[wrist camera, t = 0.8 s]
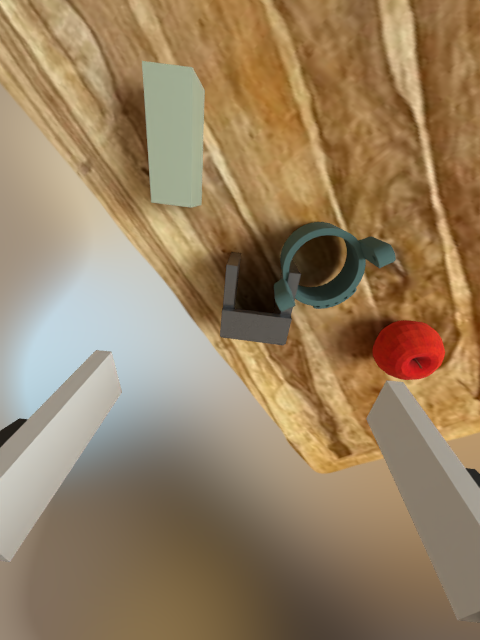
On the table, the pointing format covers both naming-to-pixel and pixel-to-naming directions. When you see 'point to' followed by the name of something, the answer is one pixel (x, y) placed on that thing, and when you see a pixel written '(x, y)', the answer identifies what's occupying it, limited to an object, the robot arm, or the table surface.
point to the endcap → (254, 322)
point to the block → (174, 133)
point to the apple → (408, 350)
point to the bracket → (345, 280)
